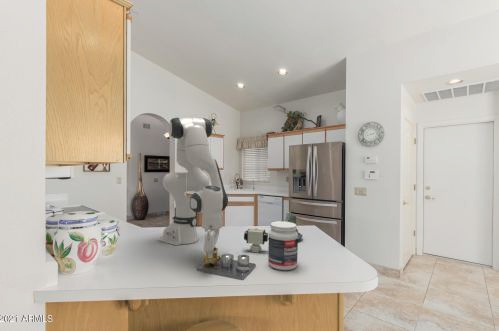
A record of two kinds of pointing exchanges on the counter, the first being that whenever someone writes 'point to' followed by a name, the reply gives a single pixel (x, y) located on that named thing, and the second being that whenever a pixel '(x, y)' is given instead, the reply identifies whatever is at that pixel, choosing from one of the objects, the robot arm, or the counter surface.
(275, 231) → the supplement tub
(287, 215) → the tree stump
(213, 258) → the gear
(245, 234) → the pneumatic valve
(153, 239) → the counter surface
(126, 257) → the counter surface
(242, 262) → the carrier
